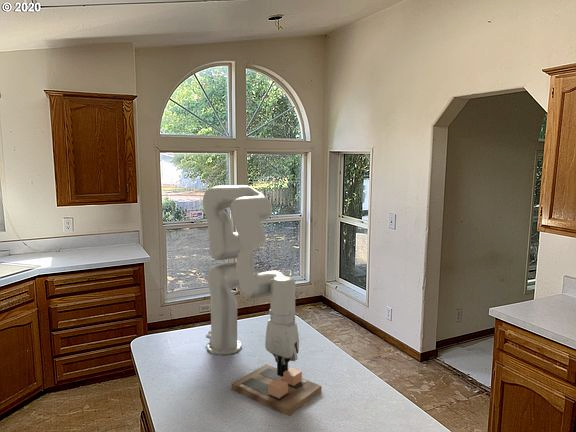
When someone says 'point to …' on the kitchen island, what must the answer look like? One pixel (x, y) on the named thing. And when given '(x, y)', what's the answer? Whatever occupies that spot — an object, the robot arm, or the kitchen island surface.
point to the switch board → (257, 390)
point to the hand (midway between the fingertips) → (282, 374)
